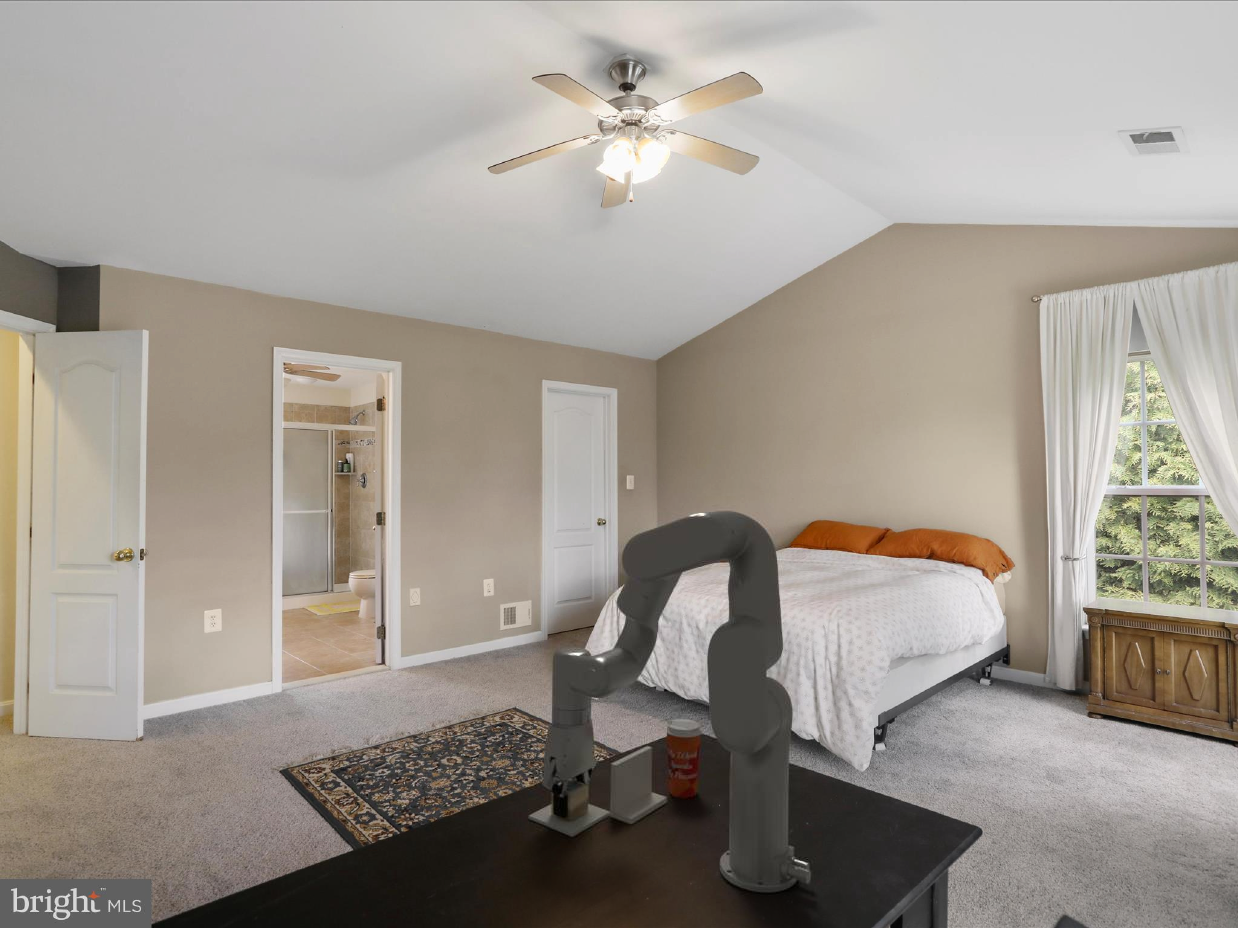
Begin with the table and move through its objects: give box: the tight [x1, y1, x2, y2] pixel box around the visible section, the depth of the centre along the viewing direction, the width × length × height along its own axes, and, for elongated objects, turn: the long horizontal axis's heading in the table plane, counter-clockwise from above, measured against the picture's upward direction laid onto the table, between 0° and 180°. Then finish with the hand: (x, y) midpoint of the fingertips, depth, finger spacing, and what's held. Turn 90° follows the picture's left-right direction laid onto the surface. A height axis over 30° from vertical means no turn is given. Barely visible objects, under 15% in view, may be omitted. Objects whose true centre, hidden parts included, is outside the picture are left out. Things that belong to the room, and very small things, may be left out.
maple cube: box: [550, 778, 590, 821], centre depth 136 cm, size 5×5×5 cm
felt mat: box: [528, 803, 610, 838], centre depth 136 cm, size 11×11×1 cm
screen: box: [609, 745, 668, 825], centre depth 140 cm, size 5×12×10 cm, turn 142°
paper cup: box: [664, 718, 704, 799], centre depth 148 cm, size 8×8×14 cm
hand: (570, 809), depth 136 cm, fingers closed on maple cube, 4 cm apart
